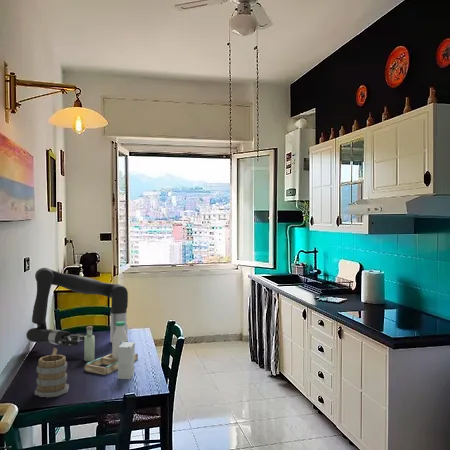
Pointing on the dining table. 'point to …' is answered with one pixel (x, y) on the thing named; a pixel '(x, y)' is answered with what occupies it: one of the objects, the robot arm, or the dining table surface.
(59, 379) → the tankard
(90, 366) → the frame
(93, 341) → the sage bottle
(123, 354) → the skincare box
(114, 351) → the milk bottle
